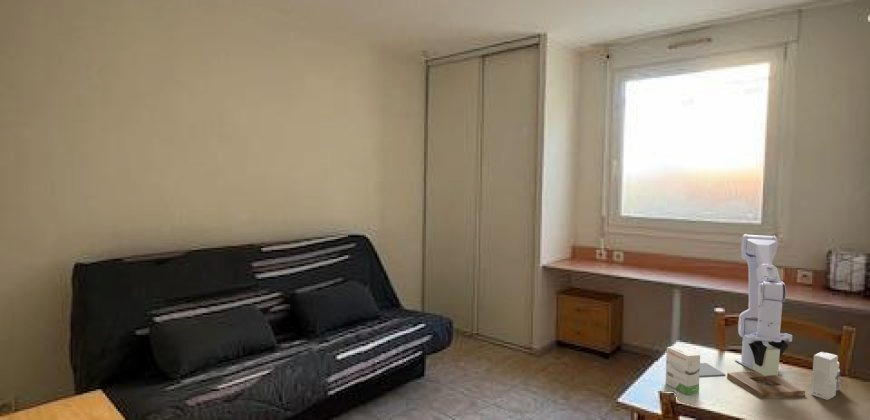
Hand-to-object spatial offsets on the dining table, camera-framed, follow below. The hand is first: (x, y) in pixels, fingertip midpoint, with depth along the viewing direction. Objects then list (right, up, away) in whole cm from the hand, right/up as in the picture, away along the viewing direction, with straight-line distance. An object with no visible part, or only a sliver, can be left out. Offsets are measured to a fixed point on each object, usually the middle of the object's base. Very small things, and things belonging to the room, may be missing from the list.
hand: (765, 364), depth 150 cm
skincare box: (+14, -8, -5) cm, 16 cm away
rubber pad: (-13, -6, +12) cm, 18 cm away
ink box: (-26, -7, -1) cm, 27 cm away
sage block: (0, -2, 0) cm, 2 cm away
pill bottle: (+19, -7, 0) cm, 21 cm away
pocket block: (0, -7, +1) cm, 7 cm away
